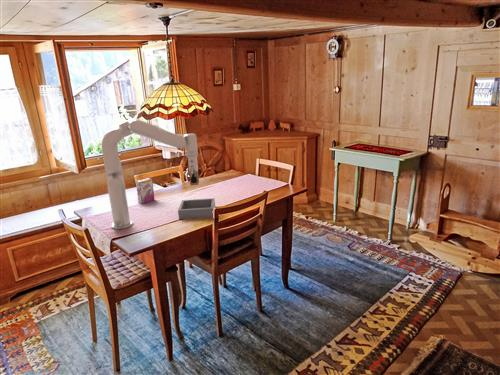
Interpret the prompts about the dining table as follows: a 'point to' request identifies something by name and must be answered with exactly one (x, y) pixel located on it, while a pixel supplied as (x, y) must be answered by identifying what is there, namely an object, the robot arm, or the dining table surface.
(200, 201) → the bin
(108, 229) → the dining table surface
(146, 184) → the candy bar box
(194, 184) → the walnut block
